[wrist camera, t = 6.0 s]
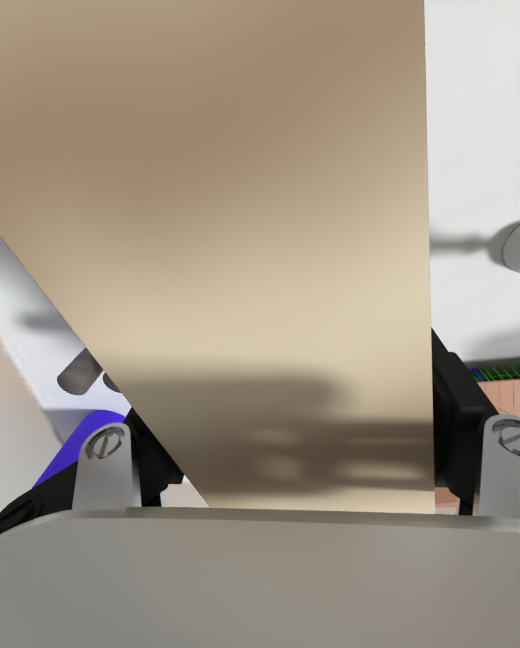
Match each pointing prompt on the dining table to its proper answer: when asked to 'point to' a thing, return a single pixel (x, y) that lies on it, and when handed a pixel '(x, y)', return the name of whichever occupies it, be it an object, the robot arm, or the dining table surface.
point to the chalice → (512, 250)
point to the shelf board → (237, 231)
